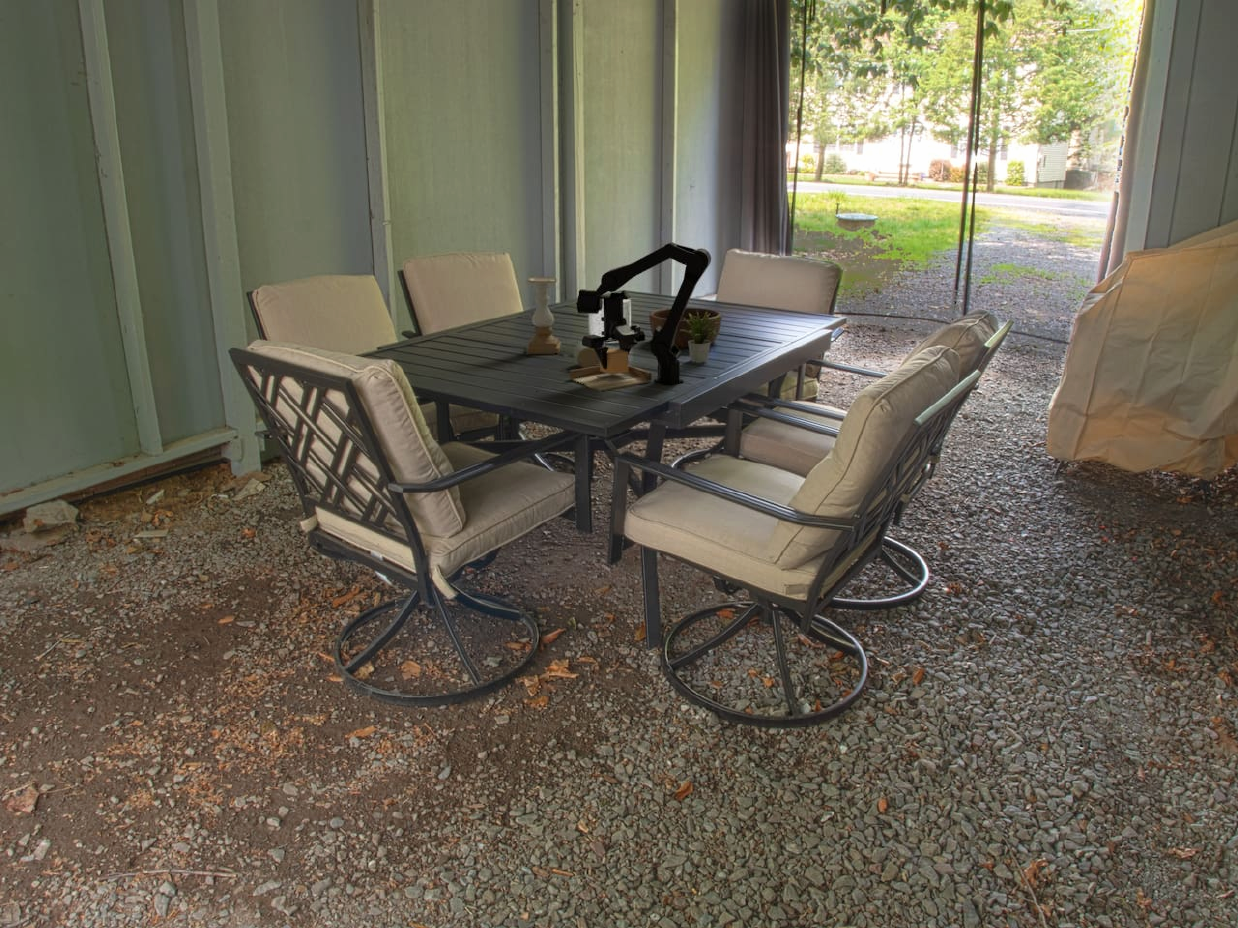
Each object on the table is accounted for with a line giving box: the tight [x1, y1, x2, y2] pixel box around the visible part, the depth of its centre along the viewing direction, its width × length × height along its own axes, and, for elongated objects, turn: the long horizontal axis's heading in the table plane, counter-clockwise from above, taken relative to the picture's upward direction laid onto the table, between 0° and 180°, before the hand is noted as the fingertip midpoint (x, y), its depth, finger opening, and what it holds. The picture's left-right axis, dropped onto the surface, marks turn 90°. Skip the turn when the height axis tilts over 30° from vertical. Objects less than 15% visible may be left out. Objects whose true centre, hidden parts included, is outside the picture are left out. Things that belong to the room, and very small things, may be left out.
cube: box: [599, 348, 629, 375], centre depth 255 cm, size 6×6×6 cm
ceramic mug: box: [573, 340, 600, 369], centre depth 271 cm, size 11×8×8 cm
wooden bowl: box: [648, 307, 723, 349], centre depth 302 cm, size 25×25×10 cm
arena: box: [569, 364, 653, 392], centre depth 255 cm, size 16×18×3 cm
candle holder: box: [525, 276, 562, 355], centre depth 290 cm, size 11×11×24 cm
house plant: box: [680, 311, 723, 364], centre depth 274 cm, size 14×14×16 cm
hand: (614, 367), depth 256 cm, fingers closed on cube, 6 cm apart
